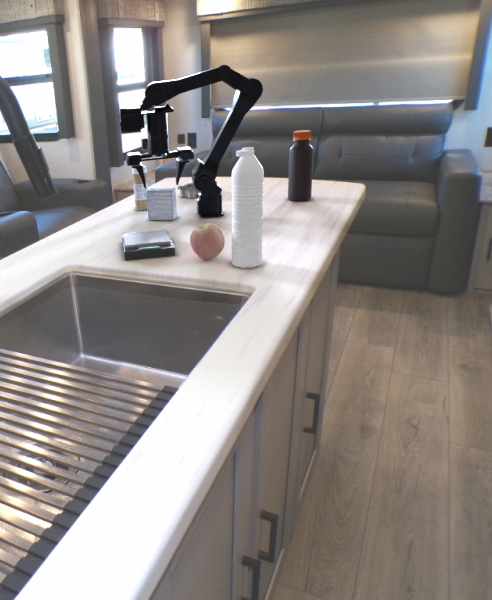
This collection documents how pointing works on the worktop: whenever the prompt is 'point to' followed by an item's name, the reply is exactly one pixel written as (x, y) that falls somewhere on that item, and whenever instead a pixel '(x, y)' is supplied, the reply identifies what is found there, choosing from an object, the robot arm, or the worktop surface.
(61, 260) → the worktop surface
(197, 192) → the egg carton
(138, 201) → the sprinkles bottle
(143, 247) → the kitchen scale
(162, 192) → the medicine box
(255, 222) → the water bottle
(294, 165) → the vinegar
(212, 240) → the apple
